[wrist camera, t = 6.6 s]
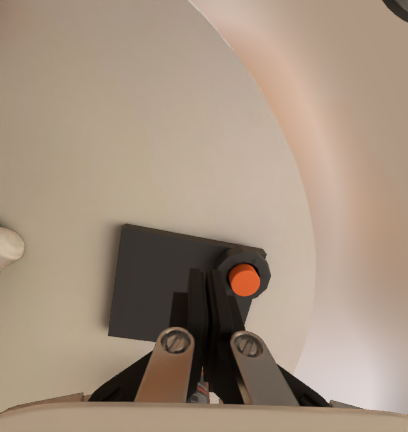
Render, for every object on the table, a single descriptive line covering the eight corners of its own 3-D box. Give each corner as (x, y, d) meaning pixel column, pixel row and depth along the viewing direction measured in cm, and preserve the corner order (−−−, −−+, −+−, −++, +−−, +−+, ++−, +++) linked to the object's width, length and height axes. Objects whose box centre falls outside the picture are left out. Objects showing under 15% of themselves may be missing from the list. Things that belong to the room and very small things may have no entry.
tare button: (259, 265, 24) (263, 273, 22) (251, 289, 25) (255, 298, 23) (232, 261, 24) (235, 268, 22) (225, 285, 24) (227, 294, 23)
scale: (267, 246, 26) (277, 257, 23) (236, 343, 30) (241, 364, 27) (126, 219, 24) (117, 228, 21) (111, 327, 28) (102, 347, 25)
